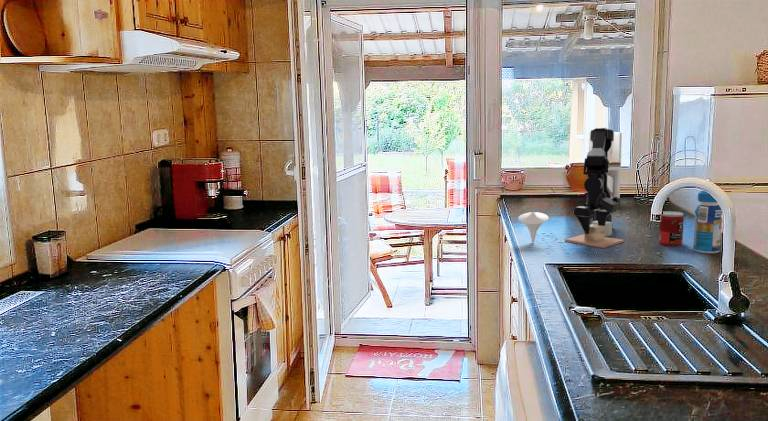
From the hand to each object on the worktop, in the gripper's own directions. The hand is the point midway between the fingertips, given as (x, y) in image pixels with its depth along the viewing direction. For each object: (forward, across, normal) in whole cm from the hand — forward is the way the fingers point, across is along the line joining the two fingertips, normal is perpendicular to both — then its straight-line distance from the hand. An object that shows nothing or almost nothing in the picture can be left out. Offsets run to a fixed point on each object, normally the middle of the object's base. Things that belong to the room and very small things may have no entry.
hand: (594, 232), depth 241 cm
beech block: (+3, 0, 0) cm, 3 cm away
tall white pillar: (+4, +73, +42) cm, 84 cm away
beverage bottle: (+4, +12, -35) cm, 37 cm away
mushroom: (+4, -16, +15) cm, 22 cm away
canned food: (+4, +15, -21) cm, 26 cm away
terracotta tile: (+4, 0, 0) cm, 4 cm away
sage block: (+4, +13, +5) cm, 14 cm away
